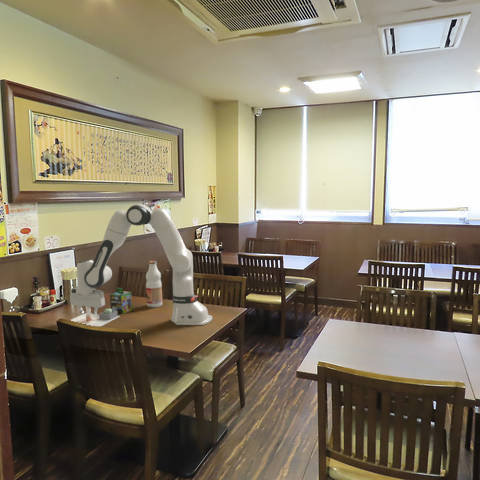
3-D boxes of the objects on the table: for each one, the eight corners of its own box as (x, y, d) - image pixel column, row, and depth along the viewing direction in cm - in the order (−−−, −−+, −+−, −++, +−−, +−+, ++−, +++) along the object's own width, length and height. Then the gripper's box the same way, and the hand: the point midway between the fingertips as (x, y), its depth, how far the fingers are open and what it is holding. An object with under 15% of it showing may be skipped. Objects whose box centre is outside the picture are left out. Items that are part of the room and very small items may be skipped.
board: (120, 316, 221) (120, 310, 221) (100, 327, 204) (100, 320, 204) (85, 314, 228) (84, 308, 228) (63, 324, 211) (62, 317, 211)
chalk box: (133, 310, 233) (131, 286, 231) (122, 314, 225) (120, 290, 223) (121, 308, 237) (120, 285, 236) (110, 313, 229) (108, 288, 227)
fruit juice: (159, 307, 237) (157, 262, 234) (144, 307, 239) (142, 262, 235) (164, 303, 246) (162, 260, 243) (150, 303, 248) (148, 260, 245)
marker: (92, 319, 215) (91, 301, 214) (89, 321, 212) (88, 302, 211) (88, 319, 216) (87, 301, 215) (85, 321, 213) (83, 302, 212)
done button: (113, 313, 220) (113, 308, 219) (109, 315, 216) (108, 310, 216) (107, 313, 221) (107, 308, 221) (103, 315, 217) (103, 310, 217)
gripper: (106, 288, 212) (108, 313, 214) (75, 287, 218) (77, 310, 220) (99, 291, 206) (101, 316, 208) (67, 289, 212) (69, 314, 214)
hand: (88, 313), depth 214 cm, fingers open, 7 cm apart
